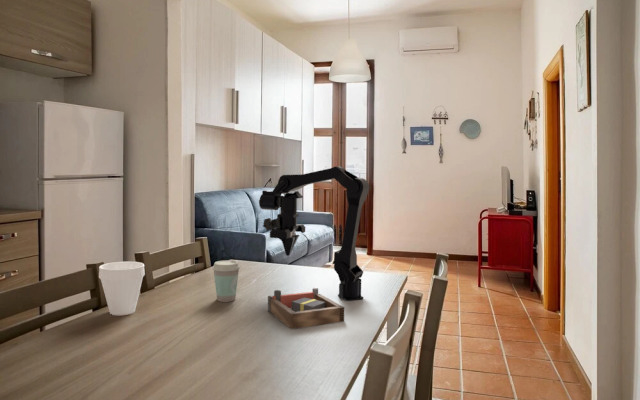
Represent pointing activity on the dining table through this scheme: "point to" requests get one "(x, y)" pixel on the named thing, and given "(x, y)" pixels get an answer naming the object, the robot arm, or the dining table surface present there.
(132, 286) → the cup
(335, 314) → the tan frame
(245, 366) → the dining table surface
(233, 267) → the coffee cup
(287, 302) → the gate
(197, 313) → the dining table surface
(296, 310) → the grey taped parcel
